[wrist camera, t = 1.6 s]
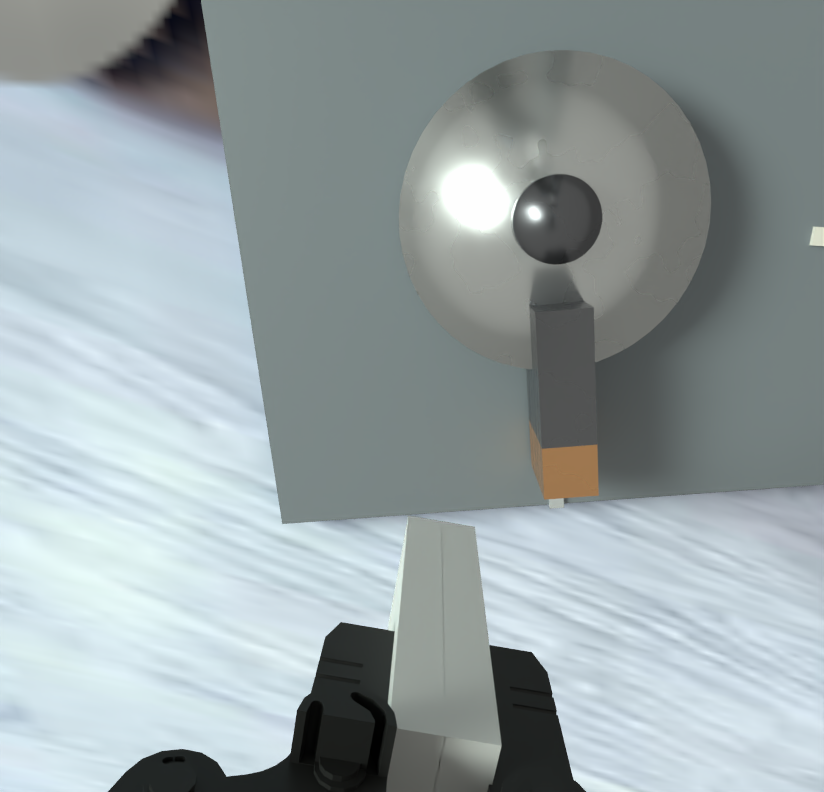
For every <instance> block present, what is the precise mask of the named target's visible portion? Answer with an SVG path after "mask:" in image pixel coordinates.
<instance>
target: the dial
mask: <svg viewBox="0 0 824 792" xmlns="http://www.w3.org/2000/svg"><path fill="white" fill-rule="evenodd" d="M710 212H711V192H710V180H709V175H708V169H707V164H706V160H705V157H704V154H703V151H702V148H701V145H700V142H699V140H698V138H697V136H696V134H695V132H694V130H693V127H692V125H691V123H690V122H689V120H688V119H687V117H686V116H685V114H684V113H683V111H682V110H681V108H680V107H679V106H678V104H677V103H676V102H675V101H674V100H673V99H672V98H671V97H670V96H669V95H668V93H667V92H666V91H665V90H664V89H662V88H661V87H660V86H659V85H658V84H656V83H655V82H654V81H653V80H652V79H650V78H649V77H648V76H646V75H645V74H643V73H641V72H640V71H638V70H636V69H635V68H633V67H631V66H629V65H627V64H625V63H622V62H620V61H617V60H615V59H613V58H610V57H606V56H602V55H599V54H595V53H591V52H583V51H573V50H554V51H542V52H537V53H531V54H526V55H522V56H519V57H516V58H513V59H510V60H507V61H504V62H502V63H500V64H498V65H496V66H494V67H492V68H490V69H488V70H486V71H484V72H482V73H481V74H479V75H478V76H476V77H475V78H473V79H472V80H470V81H469V82H467V83H466V84H465V85H463V86H462V87H461V88H460V89H459V90H458V91H457V92H455V93H454V94H453V95H452V96H451V97H450V98H449V99H448V100H447V101H446V102H445V103H444V104H443V106H442V107H441V108H440V109H439V110H438V111H437V112H436V113H435V115H434V116H433V118H432V119H431V121H430V122H429V123H428V125H427V126H426V128H425V129H424V131H423V132H422V134H421V136H420V138H419V140H418V142H417V144H416V146H415V148H414V150H413V152H412V155H411V157H410V160H409V163H408V166H407V169H406V171H405V176H404V180H403V184H402V189H401V194H400V205H399V235H400V241H401V247H402V254H403V257H404V261H405V264H406V267H407V271H408V274H409V276H410V279H411V281H412V283H413V285H414V288H415V290H416V292H417V294H418V295H419V297H420V298H421V300H422V302H423V303H424V305H425V307H426V308H427V310H428V311H429V312H430V313H431V315H432V316H433V317H434V318H435V319H436V321H437V322H438V323H439V324H440V325H441V326H442V327H443V328H444V329H445V330H446V331H447V332H448V333H449V334H450V335H451V336H452V337H454V338H455V339H457V340H458V341H459V342H461V343H462V344H463V345H465V346H466V347H468V348H469V349H471V350H473V351H475V352H477V353H478V354H480V355H482V356H484V357H486V358H489V359H491V360H494V361H497V362H499V363H502V364H506V365H510V366H514V367H518V368H524V369H526V371H527V390H528V409H529V428H530V447H531V465H532V468H533V470H534V473H535V476H536V479H537V481H538V484H539V487H540V489H541V492H542V495H543V498H544V500H546V499H560V498H573V497H587V496H599V487H598V449H597V411H596V373H595V362H598V361H601V360H603V359H605V358H608V357H610V356H613V355H615V354H617V353H619V352H621V351H622V350H624V349H626V348H628V347H629V346H631V345H633V344H634V343H636V342H637V341H638V340H640V339H641V338H642V337H644V336H645V335H647V334H648V333H649V332H650V331H651V330H652V329H654V328H655V327H656V326H657V325H658V324H659V323H660V322H661V321H662V320H663V319H664V318H665V317H666V316H667V315H668V313H669V312H670V311H671V310H672V309H673V307H674V306H675V305H676V304H677V303H678V301H679V300H680V298H681V296H682V295H683V293H684V292H685V290H686V289H687V287H688V286H689V284H690V282H691V280H692V278H693V276H694V274H695V272H696V270H697V267H698V265H699V262H700V259H701V256H702V254H703V251H704V248H705V244H706V239H707V234H708V230H709V224H710Z"/></svg>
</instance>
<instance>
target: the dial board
mask: <svg viewBox="0 0 824 792" xmlns="http://www.w3.org/2000/svg"><path fill="white" fill-rule="evenodd" d="M201 3H202V10H203V16H204V23H205V29H206V36H207V42H208V48H209V55H210V61H211V68H212V74H213V81H214V87H215V93H216V100H217V106H218V113H219V119H220V126H221V132H222V138H223V145H224V151H225V158H226V164H227V171H228V177H229V183H230V190H231V196H232V203H233V209H234V216H235V222H236V228H237V235H238V241H239V248H240V254H241V261H242V267H243V273H244V280H245V286H246V293H247V299H248V306H249V312H250V318H251V325H252V331H253V338H254V344H255V351H256V357H257V364H258V370H259V376H260V383H261V389H262V396H263V402H264V409H265V415H266V421H267V428H268V434H269V441H270V447H271V454H272V460H273V466H274V473H275V479H276V486H277V492H278V499H279V505H280V511H281V518H282V524H287V523H301V522H315V521H328V520H342V519H356V518H370V517H383V516H397V515H411V514H425V513H438V512H452V511H466V510H480V509H493V508H507V507H521V506H535V505H548V504H549V507H550V508H564V503H576V502H590V501H603V500H617V499H631V498H645V497H658V496H672V495H686V494H700V493H713V492H727V491H741V490H755V489H768V488H782V487H796V486H810V485H823V484H824V0H201ZM554 50H573V51H583V52H591V53H595V54H599V55H602V56H606V57H610V58H613V59H615V60H617V61H620V62H622V63H625V64H627V65H629V66H631V67H633V68H635V69H636V70H638V71H640V72H641V73H643V74H645V75H646V76H648V77H649V78H650V79H652V80H653V81H654V82H655V83H656V84H658V85H659V86H660V87H661V88H662V89H664V90H665V91H666V92H667V93H668V95H669V96H670V97H671V98H672V99H673V100H674V101H675V102H676V103H677V104H678V106H679V107H680V108H681V110H682V111H683V113H684V114H685V116H686V117H687V119H688V120H689V122H690V123H691V125H692V127H693V130H694V132H695V134H696V136H697V138H698V140H699V142H700V145H701V148H702V151H703V154H704V157H705V160H706V164H707V169H708V175H709V180H710V192H711V212H710V224H709V230H708V234H707V239H706V244H705V248H704V251H703V254H702V256H701V259H700V262H699V265H698V267H697V270H696V272H695V274H694V276H693V278H692V280H691V282H690V284H689V286H688V287H687V289H686V290H685V292H684V293H683V295H682V296H681V298H680V300H679V301H678V303H677V304H676V305H675V306H674V307H673V309H672V310H671V311H670V312H669V313H668V315H667V316H666V317H665V318H664V319H663V320H662V321H661V322H660V323H659V324H658V325H657V326H656V327H655V328H654V329H652V330H651V331H650V332H649V333H648V334H647V335H645V336H644V337H642V338H641V339H640V340H638V341H637V342H636V343H634V344H633V345H631V346H629V347H628V348H626V349H624V350H622V351H621V352H619V353H617V354H615V355H613V356H610V357H608V358H605V359H603V360H601V361H598V362H595V373H596V411H597V449H598V487H599V496H587V497H573V498H560V499H546V500H544V498H543V495H542V492H541V489H540V487H539V484H538V481H537V479H536V476H535V473H534V470H533V468H532V465H531V447H530V428H529V409H528V390H527V371H526V369H524V368H518V367H514V366H510V365H506V364H502V363H499V362H497V361H494V360H491V359H489V358H486V357H484V356H482V355H480V354H478V353H477V352H475V351H473V350H471V349H469V348H468V347H466V346H465V345H463V344H462V343H461V342H459V341H458V340H457V339H455V338H454V337H452V336H451V335H450V334H449V333H448V332H447V331H446V330H445V329H444V328H443V327H442V326H441V325H440V324H439V323H438V322H437V321H436V319H435V318H434V317H433V316H432V315H431V313H430V312H429V311H428V310H427V308H426V307H425V305H424V303H423V302H422V300H421V298H420V297H419V295H418V294H417V292H416V290H415V288H414V285H413V283H412V281H411V279H410V276H409V274H408V271H407V267H406V264H405V261H404V257H403V254H402V247H401V241H400V235H399V205H400V194H401V189H402V184H403V180H404V176H405V171H406V169H407V166H408V163H409V160H410V157H411V155H412V152H413V150H414V148H415V146H416V144H417V142H418V140H419V138H420V136H421V134H422V132H423V131H424V129H425V128H426V126H427V125H428V123H429V122H430V121H431V119H432V118H433V116H434V115H435V113H436V112H437V111H438V110H439V109H440V108H441V107H442V106H443V104H444V103H445V102H446V101H447V100H448V99H449V98H450V97H451V96H452V95H453V94H454V93H455V92H457V91H458V90H459V89H460V88H461V87H462V86H463V85H465V84H466V83H467V82H469V81H470V80H472V79H473V78H475V77H476V76H478V75H479V74H481V73H482V72H484V71H486V70H488V69H490V68H492V67H494V66H496V65H498V64H500V63H502V62H504V61H507V60H510V59H513V58H516V57H519V56H522V55H526V54H531V53H537V52H542V51H554Z"/></svg>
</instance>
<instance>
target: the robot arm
mask: <svg viewBox="0 0 824 792" xmlns="http://www.w3.org/2000/svg"><path fill="white" fill-rule="evenodd" d="M108 792H586V791H585V790H584V789H583V788H582V787H581V786H580V785H579V784H578V783H577V782H576V781H574V780H573V777H572V773H571V768H570V764H569V760H568V756H567V752H566V748H565V744H564V739H563V735H562V731H561V727H560V723H559V719H558V715H556V706H555V702H554V698H553V697H552V690H551V686H550V682H549V678H548V673H547V671H546V670H545V669H544V668H543V666H542V665H541V664H540V662H539V661H538V660H537V659H536V657H535V656H534V655H533V653H532V652H527V651H521V650H515V649H509V648H503V647H497V646H491V645H489V639H488V631H487V623H486V615H485V607H484V599H483V591H482V583H481V575H480V567H479V559H478V550H477V542H476V534H475V527H472V526H466V525H460V524H454V523H449V522H443V521H437V520H431V519H425V518H419V517H413V516H408V520H407V525H406V531H405V536H404V542H403V547H402V553H401V558H400V564H399V569H398V575H397V580H396V586H395V591H394V597H393V602H392V607H391V613H390V618H389V625H388V630H384V629H378V628H372V627H366V626H360V625H354V624H348V623H342V622H341V623H340V624H339V625H338V626H337V627H336V628H335V629H333V630H332V631H331V632H330V633H329V634H328V635H327V636H326V637H325V641H324V645H323V649H322V652H321V656H320V661H319V664H318V668H317V672H316V677H315V680H314V683H313V687H312V691H311V694H309V695H308V696H306V697H305V698H304V699H303V701H302V703H301V705H300V706H299V708H298V710H297V715H296V722H295V728H294V735H293V742H292V748H291V753H290V755H289V756H288V757H287V758H286V759H284V760H283V761H281V762H280V763H279V764H277V765H276V766H273V767H271V768H269V769H266V770H264V771H261V772H256V773H252V774H247V775H238V776H229V777H226V775H225V774H224V772H223V771H222V769H221V768H220V766H219V765H218V763H217V762H216V761H214V760H213V759H211V758H209V757H208V756H206V755H204V754H203V753H200V752H195V751H190V750H185V749H179V750H169V751H161V752H159V753H156V754H154V755H151V756H149V757H146V758H143V759H142V760H140V761H139V762H138V763H137V764H135V765H134V766H133V767H132V768H130V769H129V770H128V771H126V772H125V774H124V775H123V776H122V777H121V778H120V779H119V780H118V781H117V782H116V784H115V785H114V786H113V787H112V788H111V789H110V790H109V791H108Z"/></svg>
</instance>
